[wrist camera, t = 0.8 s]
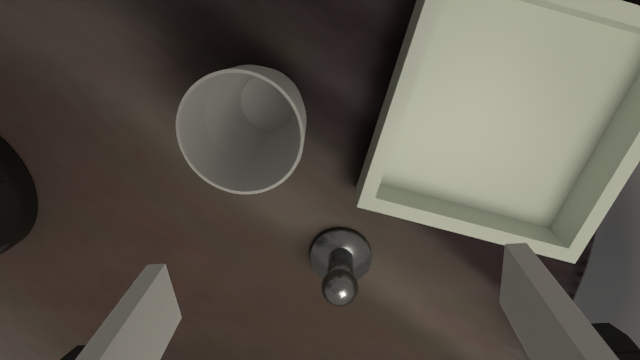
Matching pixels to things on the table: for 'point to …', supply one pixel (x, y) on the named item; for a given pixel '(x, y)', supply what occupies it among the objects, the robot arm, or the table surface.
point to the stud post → (340, 263)
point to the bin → (509, 120)
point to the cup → (242, 128)
